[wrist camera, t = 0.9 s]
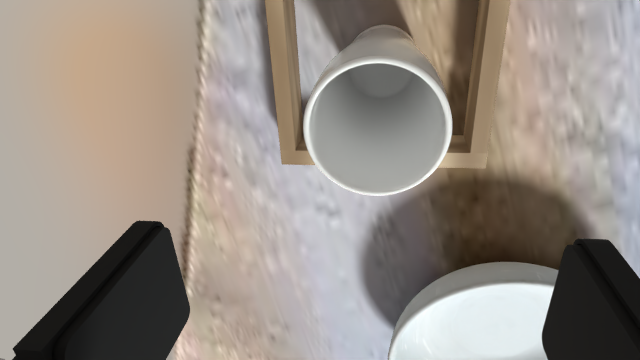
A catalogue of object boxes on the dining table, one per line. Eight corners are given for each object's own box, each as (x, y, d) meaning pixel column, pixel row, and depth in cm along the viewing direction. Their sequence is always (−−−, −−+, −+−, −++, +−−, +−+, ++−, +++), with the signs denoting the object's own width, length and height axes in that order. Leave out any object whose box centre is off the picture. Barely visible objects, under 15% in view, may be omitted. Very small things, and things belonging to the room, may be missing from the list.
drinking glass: (444, 73, 31) (482, 155, 18) (368, 119, 34) (353, 220, 21) (398, -8, 29) (404, 19, 16) (321, 47, 32) (270, 109, 19)
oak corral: (501, -35, 28) (515, -34, 24) (477, 149, 34) (485, 168, 31) (276, -23, 30) (262, -20, 27) (291, 146, 36) (281, 164, 33)
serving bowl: (522, 188, 35) (549, 236, 29) (657, 332, 39) (705, 400, 33) (346, 304, 44) (339, 358, 38) (473, 410, 48) (485, 474, 42)
